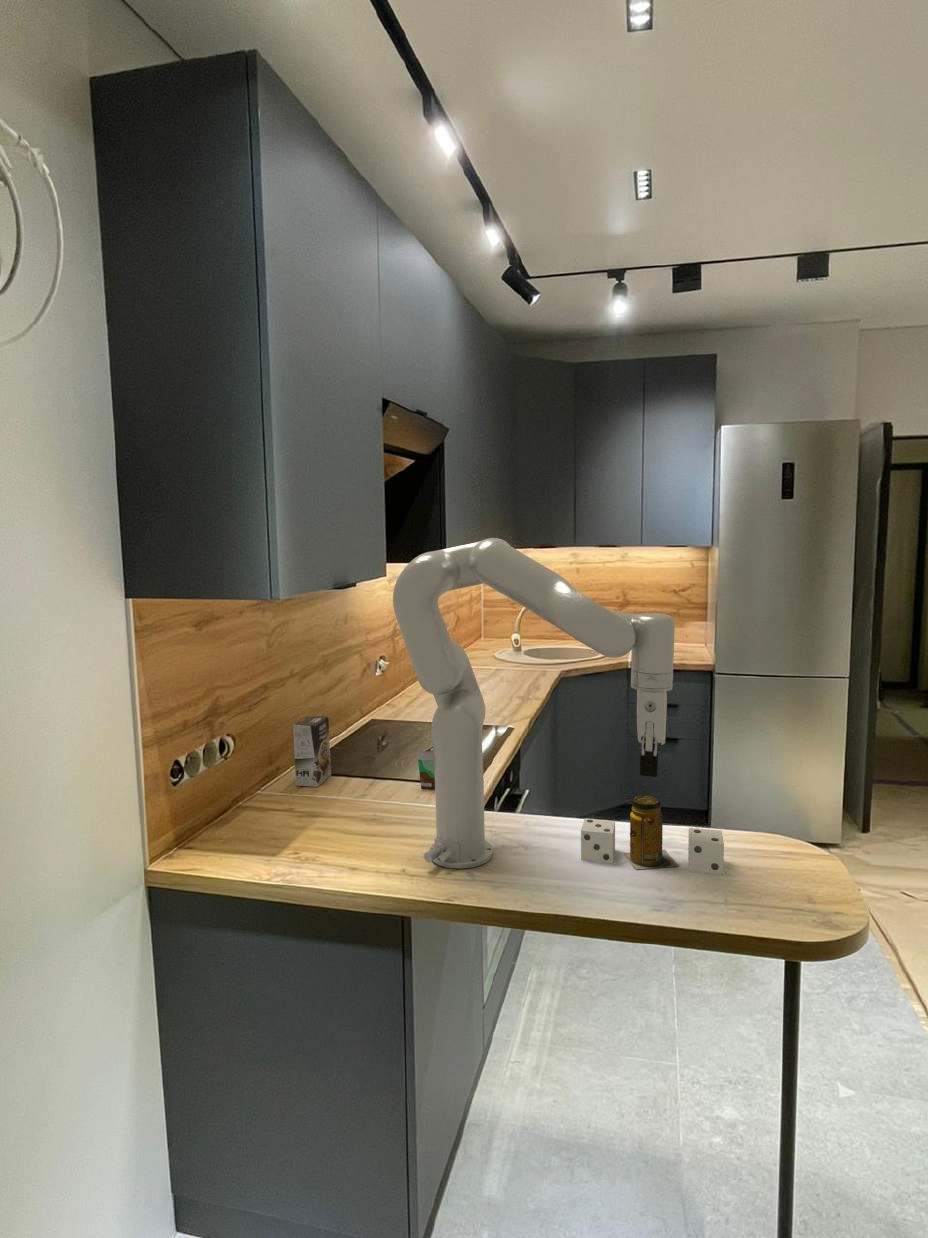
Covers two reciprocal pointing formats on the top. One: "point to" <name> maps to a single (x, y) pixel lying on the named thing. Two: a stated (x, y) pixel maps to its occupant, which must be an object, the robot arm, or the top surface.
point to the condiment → (647, 835)
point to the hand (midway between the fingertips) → (648, 774)
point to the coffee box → (312, 751)
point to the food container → (426, 768)
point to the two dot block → (706, 851)
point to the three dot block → (598, 840)
